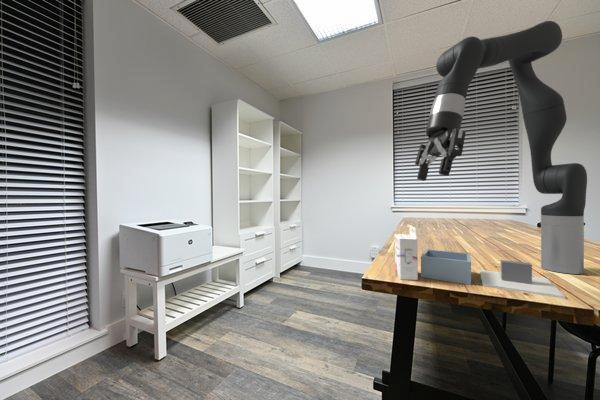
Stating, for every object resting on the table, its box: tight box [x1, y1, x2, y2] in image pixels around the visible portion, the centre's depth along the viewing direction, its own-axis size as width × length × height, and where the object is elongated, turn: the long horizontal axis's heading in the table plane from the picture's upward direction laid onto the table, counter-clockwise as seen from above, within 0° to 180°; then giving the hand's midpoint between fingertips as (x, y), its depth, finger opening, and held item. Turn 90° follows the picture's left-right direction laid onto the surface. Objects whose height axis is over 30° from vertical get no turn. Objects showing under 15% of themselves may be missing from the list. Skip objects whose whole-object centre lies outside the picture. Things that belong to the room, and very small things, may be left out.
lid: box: [479, 259, 566, 300], centre depth 66 cm, size 15×15×6 cm
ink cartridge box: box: [394, 224, 419, 281], centre depth 73 cm, size 9×5×15 cm, turn 168°
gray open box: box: [420, 248, 472, 286], centre depth 73 cm, size 12×12×6 cm
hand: (431, 177), depth 61 cm, fingers open, 8 cm apart
